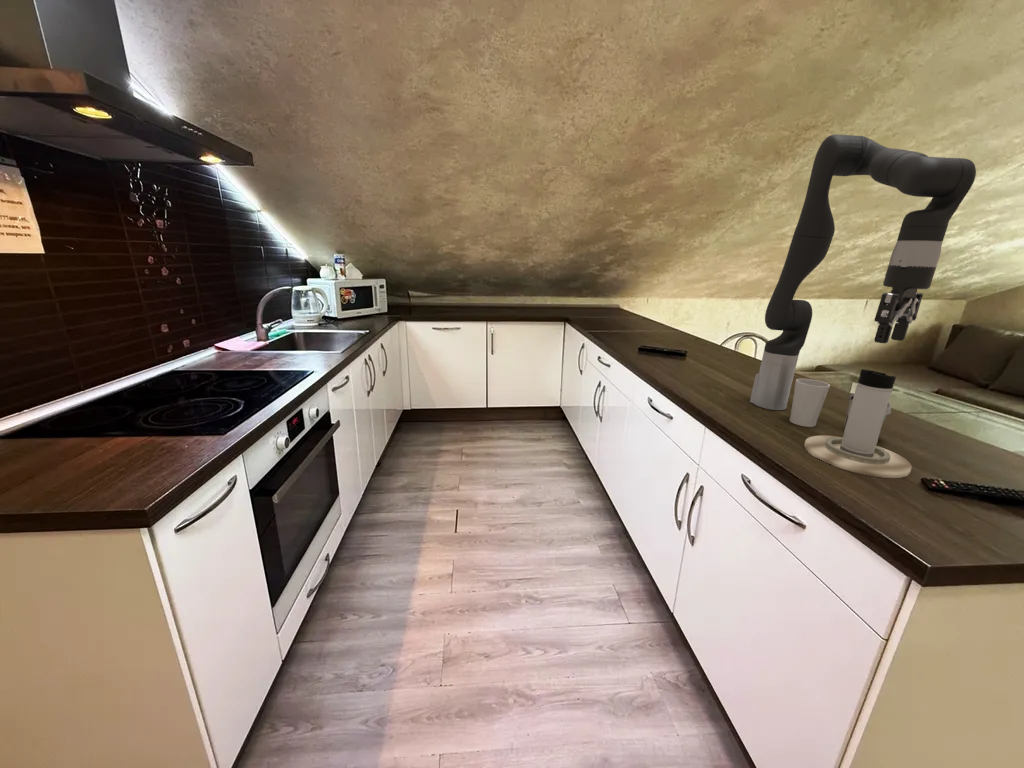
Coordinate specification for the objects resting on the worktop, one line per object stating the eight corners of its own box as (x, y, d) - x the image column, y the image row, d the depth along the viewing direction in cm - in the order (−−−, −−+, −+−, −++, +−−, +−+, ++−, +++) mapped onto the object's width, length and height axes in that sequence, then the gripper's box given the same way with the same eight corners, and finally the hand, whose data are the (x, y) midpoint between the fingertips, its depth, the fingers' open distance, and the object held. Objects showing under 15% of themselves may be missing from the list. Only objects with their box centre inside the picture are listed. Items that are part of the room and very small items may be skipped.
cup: (821, 423, 124) (832, 383, 120) (816, 430, 118) (827, 388, 115) (789, 415, 129) (799, 377, 126) (783, 422, 123) (793, 381, 120)
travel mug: (831, 447, 105) (852, 366, 99) (857, 447, 105) (879, 367, 99) (853, 458, 99) (876, 374, 93) (880, 458, 99) (905, 374, 93)
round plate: (787, 448, 106) (790, 439, 105) (828, 434, 116) (830, 426, 115) (887, 486, 89) (891, 475, 89) (924, 466, 99) (928, 456, 99)
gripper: (903, 264, 96) (882, 336, 101) (875, 262, 89) (853, 340, 94) (948, 266, 90) (923, 342, 95) (922, 264, 83) (896, 347, 88)
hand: (888, 341), depth 94 cm, fingers open, 8 cm apart
